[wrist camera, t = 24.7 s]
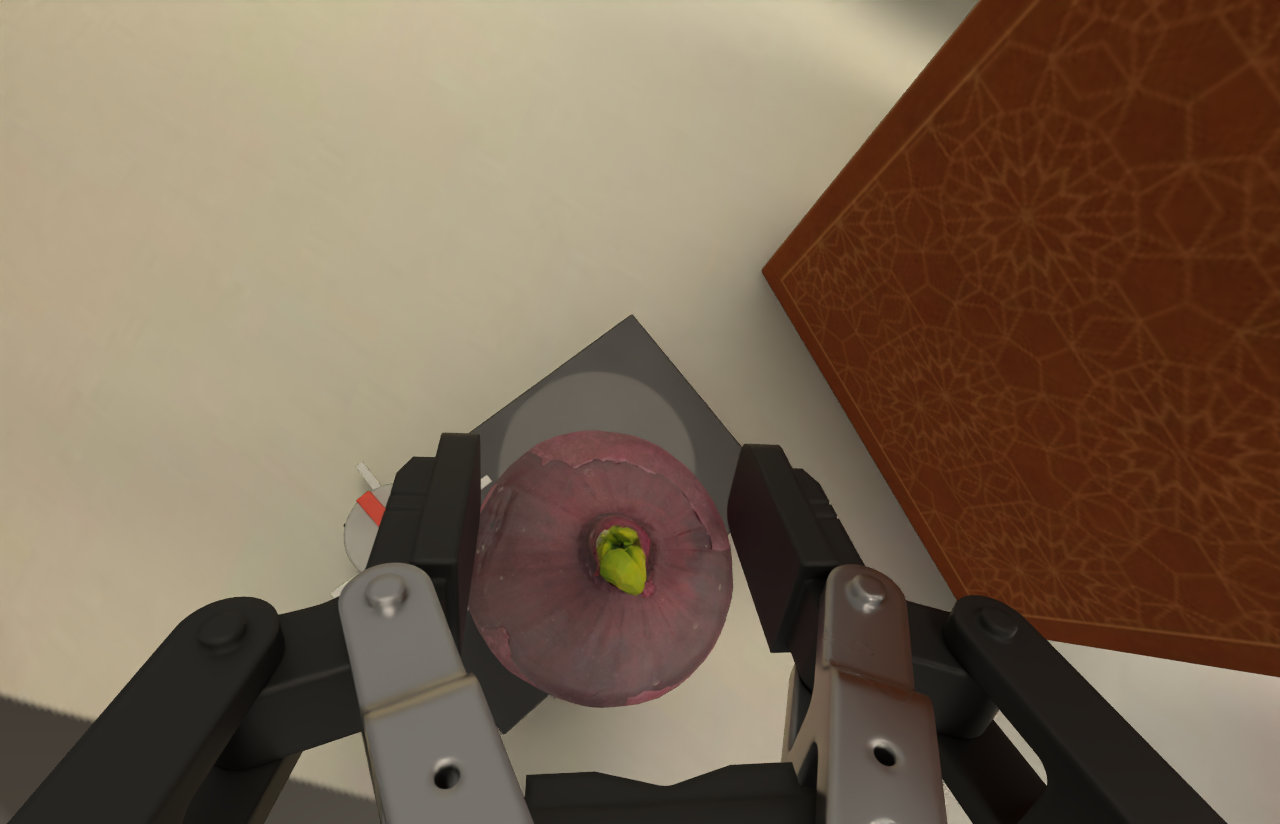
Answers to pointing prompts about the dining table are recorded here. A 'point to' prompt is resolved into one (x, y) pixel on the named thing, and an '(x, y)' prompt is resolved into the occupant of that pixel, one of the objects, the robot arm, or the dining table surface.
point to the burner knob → (365, 525)
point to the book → (1073, 318)
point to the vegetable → (600, 569)
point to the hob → (601, 401)
